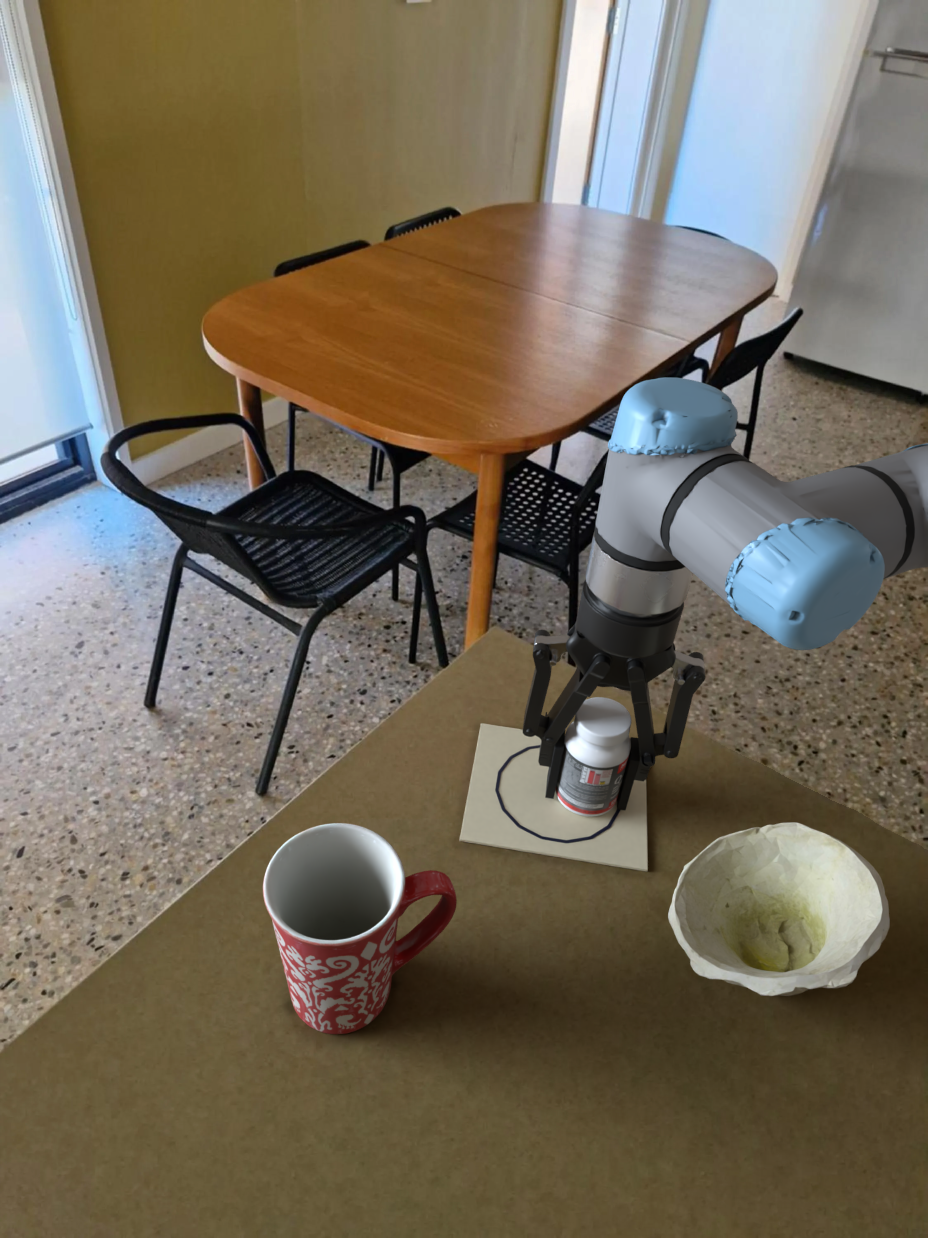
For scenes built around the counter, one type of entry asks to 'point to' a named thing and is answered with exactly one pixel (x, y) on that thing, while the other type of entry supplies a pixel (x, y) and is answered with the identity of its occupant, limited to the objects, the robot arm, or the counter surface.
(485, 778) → the beige flat square sheet
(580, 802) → the pill bottle
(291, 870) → the mug
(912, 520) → the robot arm
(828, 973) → the bowl
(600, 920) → the counter surface
